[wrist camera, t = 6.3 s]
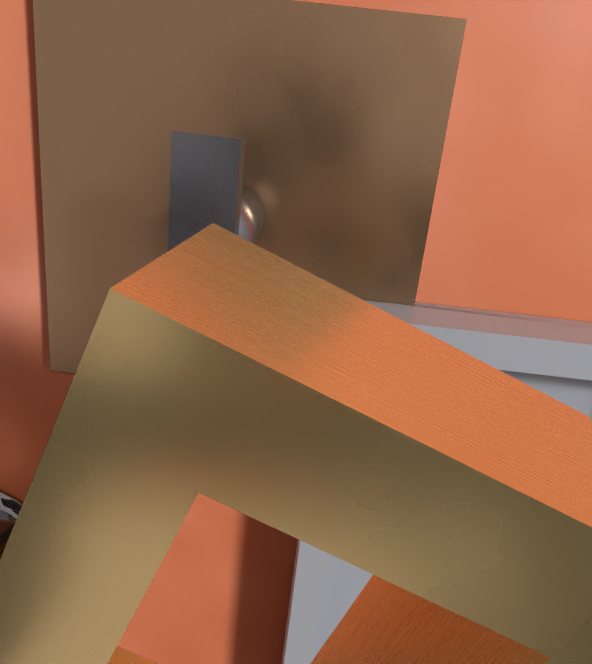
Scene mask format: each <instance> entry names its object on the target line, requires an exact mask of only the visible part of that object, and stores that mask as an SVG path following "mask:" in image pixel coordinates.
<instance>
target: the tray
mask: <svg viewBox="0 0 592 664" xmlns="http://www.w3.org/2000/svg"><path fill="white" fill-rule="evenodd" d="M364 301H366V302H368V303H370V304H372V305H374V306H375V307H377V308H379V309H381V310H383V311H385V312H387V313H389V314H391V315H393V316H395V317H397V318H399V319H401V320H403V321H405V322H407V323H408V324H410V325H412V326H414V327H416V328H418V329H420V330H422V331H424V332H426V333H428V334H430V335H432V336H434V337H436V338H438V339H440V340H441V341H443V342H445V343H447V344H449V345H451V346H453V347H455V348H457V349H459V350H461V351H463V352H465V353H467V354H469V355H471V356H472V357H474V358H476V359H478V360H480V361H482V362H484V363H486V364H488V365H490V366H492V367H494V368H496V369H498V370H500V371H502V372H504V373H505V374H507V375H509V376H511V377H513V378H515V379H517V380H519V381H521V382H523V383H525V384H527V385H529V386H531V387H533V388H535V389H537V390H538V391H540V392H542V393H544V394H546V395H548V396H550V397H552V398H554V399H556V400H558V401H560V402H562V403H564V404H566V405H568V406H570V407H571V408H573V409H575V410H577V411H579V412H581V413H583V414H585V415H587V416H589V417H590V418H591V419H592V322H583V321H574V320H566V319H557V318H548V317H540V316H531V315H522V314H514V313H505V312H496V311H488V310H479V309H470V308H462V307H453V306H444V305H436V304H427V303H418V302H415V303H414V306H413V305H404V304H396V303H387V302H378V301H370V300H364ZM372 575H373V574H371V573H369V572H367V571H365V570H363V569H360V568H358V567H356V566H354V565H352V564H350V563H348V562H345V561H343V560H341V559H339V558H337V557H335V556H333V555H331V554H328V553H326V552H324V551H322V550H320V549H318V548H316V547H314V546H311V545H309V544H307V543H305V542H303V541H301V540H299V539H298V540H297V548H296V555H295V563H294V571H293V579H292V586H291V594H290V602H289V609H288V617H287V625H286V633H285V640H284V648H283V656H282V664H310V663H311V662H312V661H313V659H314V658H315V656H316V655H317V653H318V652H319V651H320V649H321V648H322V646H323V645H324V644H325V642H326V641H327V639H328V638H329V636H330V635H331V634H332V632H333V631H334V629H335V628H336V627H337V625H338V624H339V622H340V621H341V619H342V618H343V617H344V615H345V614H346V612H347V611H348V609H349V608H350V607H351V605H352V604H353V602H354V601H355V600H356V598H357V597H358V595H359V594H360V592H361V591H362V590H363V588H364V587H365V585H366V584H367V583H368V581H369V580H370V578H371V577H372Z"/></svg>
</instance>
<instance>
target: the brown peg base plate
mask: <svg viewBox="0 0 592 664" xmlns="http://www.w3.org/2000/svg"><path fill="white" fill-rule="evenodd" d="M33 20H34V40H35V61H36V82H37V103H38V124H39V145H40V166H41V187H42V208H43V228H44V249H45V270H46V291H47V312H48V333H49V354H50V371H59V372H67V373H75V374H76V371H77V369H78V366H79V364H80V361H81V359H82V356H83V354H84V351H85V349H86V346H87V344H88V341H89V339H90V336H91V334H92V331H93V329H94V327H95V324H96V322H97V319H98V317H99V314H100V312H101V309H102V307H103V304H104V302H105V299H106V297H107V294H108V292H109V289H110V288H111V287H113V286H114V285H116V284H118V283H119V282H121V281H122V280H124V279H125V278H127V277H129V276H130V275H132V274H133V273H135V272H137V271H138V270H140V269H141V268H143V267H144V266H146V265H148V264H149V263H151V262H152V261H154V260H155V259H157V258H159V257H160V256H162V255H163V254H165V253H166V252H168V251H170V250H171V249H173V248H174V247H176V246H178V245H179V244H181V243H182V242H184V241H185V240H187V239H189V238H190V237H192V236H193V235H195V234H196V233H198V232H200V231H201V230H203V229H204V228H206V227H207V226H209V225H211V224H212V223H214V224H216V225H218V226H220V227H222V228H224V229H226V230H228V231H230V232H232V233H234V234H236V235H238V236H240V237H242V238H244V239H245V240H247V241H249V242H251V243H253V244H255V245H257V246H259V247H261V248H263V249H265V250H267V251H269V252H271V253H273V254H275V255H277V256H278V257H280V258H282V259H284V260H286V261H288V262H290V263H292V264H294V265H296V266H298V267H300V268H302V269H304V270H306V271H308V272H310V273H311V274H313V275H315V276H317V277H319V278H321V279H323V280H325V281H327V282H329V283H331V284H333V285H335V286H337V287H339V288H341V289H342V290H344V291H346V292H348V293H350V294H352V295H354V296H356V297H358V298H360V299H362V300H370V301H378V302H387V303H396V304H404V305H413V306H414V303H415V298H416V292H417V287H418V282H419V276H420V271H421V265H422V260H423V254H424V249H425V243H426V238H427V233H428V227H429V222H430V216H431V211H432V205H433V200H434V195H435V189H436V184H437V178H438V173H439V167H440V162H441V156H442V151H443V146H444V140H445V135H446V129H447V124H448V118H449V113H450V108H451V102H452V97H453V91H454V86H455V80H456V75H457V69H458V64H459V59H460V53H461V48H462V42H463V37H464V31H465V26H466V20H467V19H460V18H451V17H442V16H433V15H423V14H414V13H405V12H396V11H386V10H377V9H368V8H358V7H349V6H340V5H331V4H321V3H312V2H303V1H293V0H33Z"/></svg>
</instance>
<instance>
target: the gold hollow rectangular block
mask: <svg viewBox="0 0 592 664" xmlns="http://www.w3.org/2000/svg"><path fill="white" fill-rule="evenodd" d="M198 493H201V494H203V495H205V496H207V497H209V498H211V499H213V500H216V501H218V502H220V503H222V504H224V505H226V506H228V507H230V508H233V509H235V510H237V511H239V512H241V513H243V514H245V515H247V516H250V517H252V518H254V519H256V520H258V521H260V522H262V523H265V524H267V525H269V526H271V527H273V528H275V529H277V530H279V531H282V532H284V533H286V534H288V535H290V536H292V537H294V538H296V539H299V540H301V541H303V542H305V543H307V544H309V545H311V546H314V547H316V548H318V549H320V550H322V551H324V552H326V553H328V554H331V555H333V556H335V557H337V558H339V559H341V560H343V561H345V562H348V563H350V564H352V565H354V566H356V567H358V568H360V569H363V570H365V571H367V572H369V573H371V574H373V575H372V577H371V578H370V580H369V581H368V583H367V584H366V585H365V587H364V588H363V590H362V591H361V592H360V594H359V595H358V597H357V598H356V600H355V601H354V602H353V604H352V605H351V607H350V608H349V609H348V611H347V612H346V614H345V615H344V617H343V618H342V619H341V621H340V622H339V624H338V625H337V627H336V628H335V629H334V631H333V632H332V634H331V635H330V636H329V638H328V639H327V641H326V642H325V644H324V645H323V646H322V648H321V649H320V651H319V652H318V653H317V655H316V656H315V658H314V659H313V661H312V662H311V663H310V664H592V419H591V418H590V417H589V416H587V415H585V414H583V413H581V412H579V411H577V410H575V409H573V408H571V407H570V406H568V405H566V404H564V403H562V402H560V401H558V400H556V399H554V398H552V397H550V396H548V395H546V394H544V393H542V392H540V391H538V390H537V389H535V388H533V387H531V386H529V385H527V384H525V383H523V382H521V381H519V380H517V379H515V378H513V377H511V376H509V375H507V374H505V373H504V372H502V371H500V370H498V369H496V368H494V367H492V366H490V365H488V364H486V363H484V362H482V361H480V360H478V359H476V358H474V357H472V356H471V355H469V354H467V353H465V352H463V351H461V350H459V349H457V348H455V347H453V346H451V345H449V344H447V343H445V342H443V341H441V340H440V339H438V338H436V337H434V336H432V335H430V334H428V333H426V332H424V331H422V330H420V329H418V328H416V327H414V326H412V325H410V324H408V323H407V322H405V321H403V320H401V319H399V318H397V317H395V316H393V315H391V314H389V313H387V312H385V311H383V310H381V309H379V308H377V307H375V306H374V305H372V304H370V303H368V302H366V301H364V300H362V299H360V298H358V297H356V296H354V295H352V294H350V293H348V292H346V291H344V290H342V289H341V288H339V287H337V286H335V285H333V284H331V283H329V282H327V281H325V280H323V279H321V278H319V277H317V276H315V275H313V274H311V273H310V272H308V271H306V270H304V269H302V268H300V267H298V266H296V265H294V264H292V263H290V262H288V261H286V260H284V259H282V258H280V257H278V256H277V255H275V254H273V253H271V252H269V251H267V250H265V249H263V248H261V247H259V246H257V245H255V244H253V243H251V242H249V241H247V240H245V239H244V238H242V237H240V236H238V235H236V234H234V233H232V232H230V231H228V230H226V229H224V228H222V227H220V226H218V225H216V224H214V223H212V224H211V225H209V226H207V227H206V228H204V229H203V230H201V231H200V232H198V233H196V234H195V235H193V236H192V237H190V238H189V239H187V240H185V241H184V242H182V243H181V244H179V245H178V246H176V247H174V248H173V249H171V250H170V251H168V252H166V253H165V254H163V255H162V256H160V257H159V258H157V259H155V260H154V261H152V262H151V263H149V264H148V265H146V266H144V267H143V268H141V269H140V270H138V271H137V272H135V273H133V274H132V275H130V276H129V277H127V278H125V279H124V280H122V281H121V282H119V283H118V284H116V285H114V286H113V287H111V288H110V289H109V292H108V294H107V297H106V299H105V302H104V304H103V307H102V309H101V312H100V314H99V317H98V319H97V322H96V324H95V327H94V329H93V331H92V334H91V336H90V339H89V341H88V344H87V346H86V349H85V351H84V354H83V356H82V359H81V361H80V364H79V366H78V369H77V371H76V374H75V376H74V379H73V381H72V383H71V386H70V388H69V391H68V393H67V396H66V398H65V401H64V403H63V406H62V408H61V411H60V413H59V416H58V418H57V421H56V423H55V426H54V428H53V430H52V433H51V435H50V438H49V440H48V443H47V445H46V448H45V450H44V453H43V455H42V458H41V460H40V463H39V465H38V468H37V470H36V473H35V475H34V478H33V480H32V482H31V485H30V487H29V490H28V492H27V495H26V497H25V500H24V502H23V505H22V507H21V510H20V512H19V515H18V517H17V520H16V522H15V525H14V527H13V529H12V532H11V534H10V537H9V539H8V542H7V544H6V547H5V549H4V552H3V554H2V557H1V559H0V664H157V663H154V662H152V661H150V660H148V659H145V658H143V657H141V656H138V655H136V654H134V653H132V652H129V651H127V650H125V649H123V648H120V647H118V646H117V645H118V643H119V641H120V639H121V637H122V635H123V633H124V631H125V630H126V628H127V626H128V624H129V622H130V620H131V618H132V616H133V615H134V613H135V611H136V609H137V607H138V605H139V603H140V601H141V599H142V598H143V596H144V594H145V592H146V590H147V588H148V586H149V584H150V583H151V581H152V579H153V577H154V575H155V573H156V571H157V569H158V568H159V566H160V564H161V562H162V560H163V558H164V556H165V554H166V552H167V551H168V549H169V547H170V545H171V543H172V541H173V539H174V537H175V536H176V534H177V532H178V530H179V528H180V526H181V524H182V522H183V520H184V519H185V517H186V515H187V513H188V511H189V509H190V507H191V505H192V504H193V502H194V500H195V498H196V496H197V494H198Z"/></svg>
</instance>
